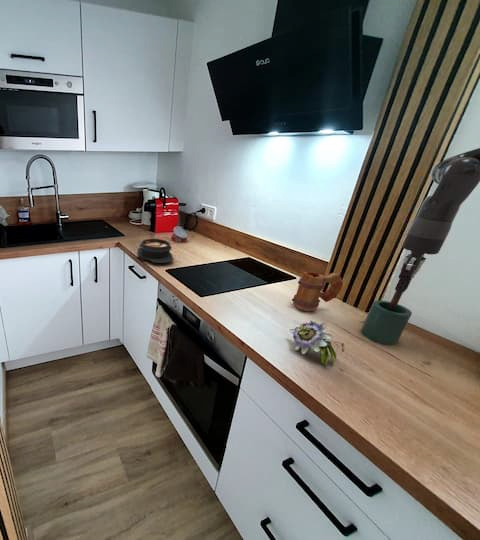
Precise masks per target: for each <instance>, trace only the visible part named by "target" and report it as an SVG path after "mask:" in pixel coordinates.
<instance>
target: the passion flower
mask: <svg viewBox="0 0 480 540" xmlns="http://www.w3.org/2000/svg"><path fill="white" fill-rule="evenodd" d="M327 326H328V324H327V322H322V323H317V321H315V320H314V321H313V320H310V321H309V322H305V323H304V322H303V323H300V325H299V326H296V327H294V328H291V329H289V332H290V333H291V334H293V336H292V338H293V339H294V340H293V342H292V344H293V345H296V346H295V347H294V348H293V351H296V352H298V351H300V350H301V354H302V355H307V354H308V353H309V352H310V350H311V349H312V351H314V352H315V353H320V362H321V364H322V365H323V366H327V364H328V362H329V361H330V357H331V365H334V363H335V362H336V360H337V353H336V351H335V349H334V348H333V345H332V341H331V340H332V339H333V338H334V335H333V334H330V333H327V332H324V330H325V329H326V328H327ZM334 343H336V344H340V345H341V347H342V348H341V352H343V353H344V352H345V350H346V349H345V343H344V342H339V341H338V342H337V341H334Z"/></svg>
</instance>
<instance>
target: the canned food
mask: <svg viewBox="0 0 480 540" xmlns="http://www.w3.org/2000/svg"><path fill="white" fill-rule="evenodd" d="M172 231H173V234H171V238H170V240H171V241H172V242H174V243H178V244H179V243H181V244H183V243H186V242H187V241H188V233H187V231H186V230H185V229H184V228H183V227H182V226H180V225H176V226H175V227H174V228H173V230H172Z"/></svg>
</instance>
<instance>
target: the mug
mask: <svg viewBox="0 0 480 540" xmlns="http://www.w3.org/2000/svg"><path fill="white" fill-rule="evenodd" d="M326 283H328V284H330V285H331V286H330V287H329V289H328V290H327V291H325V292H322V289H324V287H325V285H326ZM297 284H298V286H297V289H296V293H295V294H294V295H293V298H292V299H291V301H292V305H293V306H294V307H295V308H297V309H298V310H301V311H302V312H303V311H304V312H312V311H315V310H316V309H317V308H318V307H319V306H320V304H319V303H321V300H323V301H324V303H329V302H331V301H332V300H334V299H335V298H336V297H338V295H339V294H340V292H342V291H341V290H342V289H343V285H344V282H343V279H342V277H341V276H340V274H338V273H336V272H331V273H329V274H327V275H324V274H323V273H321V274H320V273H319V272H316V271H310V270H309V271H304V272H303V273H302V276H301V277H300V278H299V280H298V281H297Z"/></svg>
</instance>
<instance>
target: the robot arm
mask: <svg viewBox="0 0 480 540" xmlns="http://www.w3.org/2000/svg"><path fill="white" fill-rule="evenodd" d="M430 177H431V179H432V181H433V182H434V183H436V184H437V186H436V188H435V190H434V191H433V193H432V195H429V196H427V197H425V198H424V200H423V202H422V204H421V206H420V208H419V210H418V212H417V215H416V216H415V218H414V219H413V222H412V223H411V225H410V228H409V229H408V232H407V234H406V236H405V238H404V241H403V243H402V248H403V249H404V250H406V251H409V252H410V253H407V255H405V257H404V259H403V263H402V266H401V268H400V272H399V275H398V281H397V283H396V285H395V288H394V290H395V292H396V291H400V292H403V293H405V292H406V291H407V290H408V288H409V286H410V284H411V282H412V281H413V279H414V278H415V276H416V275H417V274H418V272H420V270H421V268H422V266H423V264H425V262H426V260H427V257H425V255H438V254H439V253H440V251H441V250H442V247H443V245H444V243H445V241H446V239H447V237H448V235H449V233H450V231H451V230H452V226H453V223H454V221H455V219H456V217H457V214H458V213H459V211H460V209H461V206H462V204H463V203H465V201H466V200H467V199H468V198H469V196H470V195H471V194H472V193H473V192H474V190H475V189H476V188H477V186H478V185H479V184H480V147H478V148H475V149H472V150H468V151H465V152H461V153H459V154H456V155H453V156H450V157H448V158H446V159H443V160H442V161H440V162H438V163H437V164H436V165H435V166H434V167H433V169H432V171H431V173H430ZM404 274H407V275H409V276H406V275H404Z"/></svg>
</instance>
